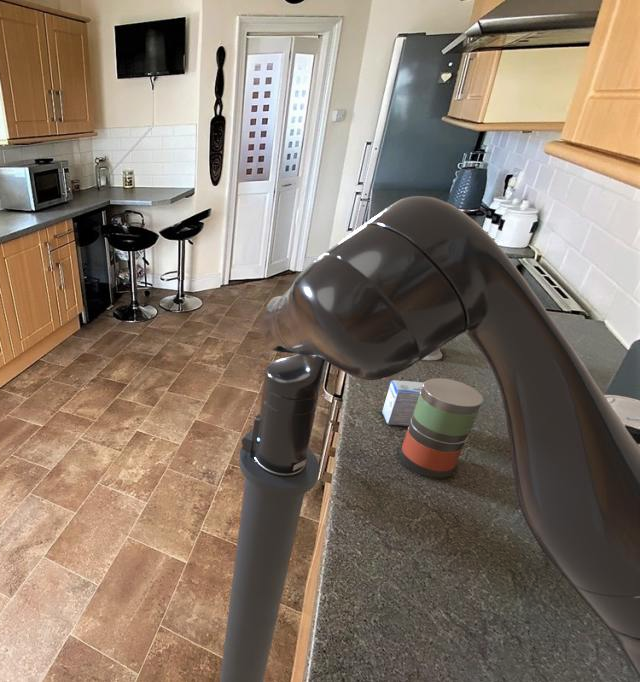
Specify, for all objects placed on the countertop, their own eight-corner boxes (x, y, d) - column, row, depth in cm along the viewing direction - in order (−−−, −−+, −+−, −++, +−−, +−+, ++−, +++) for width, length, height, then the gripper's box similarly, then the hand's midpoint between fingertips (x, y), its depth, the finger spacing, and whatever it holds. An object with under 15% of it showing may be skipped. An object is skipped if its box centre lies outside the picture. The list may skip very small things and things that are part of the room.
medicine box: (421, 416, 92) (433, 382, 88) (429, 429, 89) (442, 395, 85) (381, 412, 94) (391, 379, 90) (387, 425, 90) (397, 391, 86)
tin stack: (393, 463, 81) (417, 393, 73) (405, 440, 86) (428, 372, 79) (448, 486, 75) (479, 413, 68) (457, 460, 81) (487, 389, 73)
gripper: (874, 538, 29) (744, 409, 41) (583, 460, 36) (546, 369, 48) (796, 605, 32) (698, 467, 45) (545, 522, 39) (520, 423, 52)
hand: (619, 417), depth 46 cm, fingers closed on beer glass, 7 cm apart
